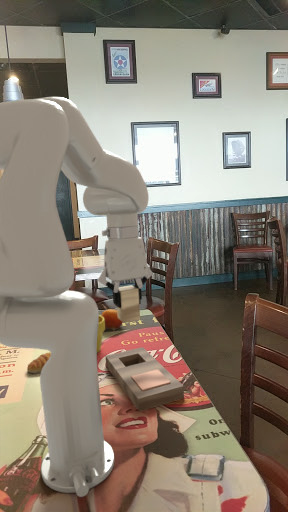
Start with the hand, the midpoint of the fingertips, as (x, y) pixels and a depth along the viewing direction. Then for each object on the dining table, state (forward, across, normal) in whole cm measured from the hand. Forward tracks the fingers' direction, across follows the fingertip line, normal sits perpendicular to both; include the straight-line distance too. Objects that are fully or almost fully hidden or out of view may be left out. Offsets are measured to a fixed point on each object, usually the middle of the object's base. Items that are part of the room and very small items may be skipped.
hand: (127, 303), depth 96 cm
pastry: (+19, -20, +14) cm, 31 cm away
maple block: (+4, 0, 0) cm, 4 cm away
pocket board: (+18, 0, -6) cm, 19 cm away
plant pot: (+19, -7, +18) cm, 27 cm away
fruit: (+18, +5, +32) cm, 38 cm away
